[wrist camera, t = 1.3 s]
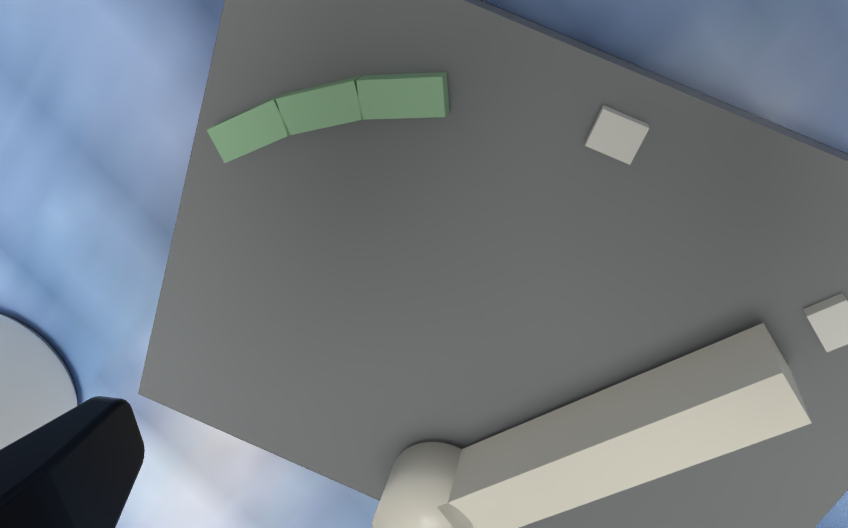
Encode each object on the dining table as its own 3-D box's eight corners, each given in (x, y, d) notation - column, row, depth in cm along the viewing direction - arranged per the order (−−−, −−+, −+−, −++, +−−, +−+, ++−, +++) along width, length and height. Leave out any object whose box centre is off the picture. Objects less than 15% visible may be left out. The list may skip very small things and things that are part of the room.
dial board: (705, 621, 26) (711, 662, 25) (153, 377, 27) (128, 404, 25) (1037, 234, 19) (1072, 260, 17) (261, -92, 19) (234, -92, 18)
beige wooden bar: (427, 532, 26) (411, 588, 23) (373, 462, 25) (351, 515, 23) (803, 391, 21) (826, 447, 18) (749, 299, 20) (767, 346, 18)
